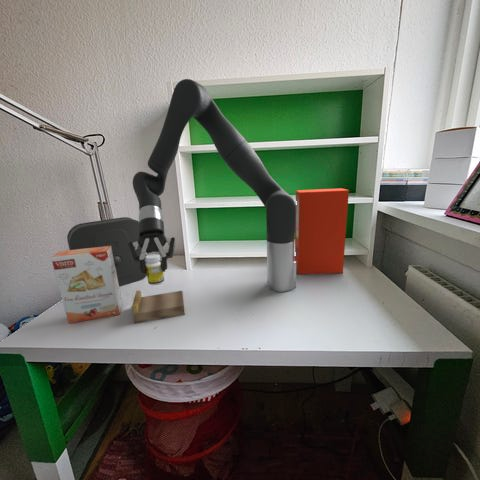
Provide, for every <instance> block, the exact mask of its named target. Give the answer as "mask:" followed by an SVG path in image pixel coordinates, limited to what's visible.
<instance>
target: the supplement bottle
mask: <svg viewBox="0 0 480 480" xmlns="http://www.w3.org/2000/svg"><path fill="white" fill-rule="evenodd" d="M145 258H146V264H145V266H146V272H147V276H146V278H147V283H148V285H150V286H158V285H161V284H163V283H164V282H165V275H164V274H165V272H163V271H162V260H161V255H160V253H149V255H147V256H146V257H145Z"/></svg>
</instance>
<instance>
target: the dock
mask: <svg viewBox="0 0 480 480" xmlns="http://www.w3.org/2000/svg"><path fill="white" fill-rule="evenodd" d="M183 294H184V293H183V290H177V291H171V292H166V293H159V294H154V295H146V296H142V293H141V290H136V292H135V295H134V297H133V300H132V304H131V310H132V317H133V321H134V324H139V323H146V322H152V321H157V320H163V319H168V318H172V317H179V316H183V315H185V314H186V313H185V304H184V303H185V301H184V295H183Z"/></svg>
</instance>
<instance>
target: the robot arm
mask: <svg viewBox="0 0 480 480" xmlns="http://www.w3.org/2000/svg"><path fill="white" fill-rule="evenodd" d="M192 118H193V119H194V120H195V121H196V122H198V123H199V124H200V126H202V127H201V128H203V129H204V130H205V132H207V134H208V135H209V137H210V139H211V141H212V143H213V144H214V146H215V149H216V150H217V152H218V154H219V156H220V158H221V159H222V160H223V161H224V162H225V164H226V165H227V166H228V167H229V168H230V170H231V171H232V172H233V173H234V174H235V175H236V177H238V178H239V179H240V180H241V181H242V182H244V183H245V184H246V185H247V186H248V187H249V188H250V189H251V190H252V191H253V192H254V193H255V194H256V196H257V197H258V198H259V200H260V201H261V203H262V205H264V208H265V209H266V210H265V213H266V215H265V217H266V218H265V219H266V221H265V222H266V232H265V233H266V269H267V270H266V272H267V273H266V275H267V277H266V279H267V282H266V283H267V288H268V289H269V290H270V291H274V292H278V293H284V292H285V293H286V292H289V291H291V290H293V289H294V288H297V271H296V262H295V224H296V200H295V199H294V198H293V197H292V195H290V194H289V193H288V192H287V191H285V189H283V187H281V186H280V185H279V184H278V183H277V182H276V181H275V179H273V177H272V176H271V175H270V174H269V172H268V170H267V168H266V167H265V165H264V163H263V162H262V160H261V158H260V157H259V156H258V154H257V153H256V151H255V150H254V148H253V147H252V146H251V145H250V144H249V142H248V141H247V140H246V138H245V137H244V136H243V135H242V134H241V133H240V131H238V130H237V128H236V127H235V126H234V125H233V124H232V123H231V122H230V121H229V120H228V119H227V118H226V117H225V115H224V114H223V113H222V112H221V110H220V109H219V107H218V105H217V103H215V101H214V99H213V98H212V96H211V94H210V92H208V90H207V89H206V88H205V87H204V85H202V84H200V83H199V82H197V81H195V80H194V79H193V80H192V79H190V78H185V79H181V80H180V81H178V82H177V83H176V85H175V87H174V89H173V91H172V95H171V98H170V102H169V107H168V109H167V112H166V116H165V119H164V122H163V125H162V128H161V131H160V133H159V134H160V135H159V136H158V139H157V140H156V143H155V145H154V147H153V150H152V152H151V154H150V156H149V159H148V161H147V166H148V168H149V169H150V170H151V171H153V172H154V173H155V174H157V175H153V174H152V173H148V172H146V171H138V172H136V173H135V174H134V175H133V178H132V188H133V191H134V194H135V196H136V199H137V201H138V211H139V212H138V221H139V239H138V241H137V242H134V243H132V242H129V243H128V245H129V248H130V251H131V254H132V256H133V259H134V261H135V262H140V270H141V272H142V273H143V274H146V266H145V264H146V262H145V261H146V258H145V257H146V256H147V255H148V254H149V255H150V254H152V253H158V254H159V255H160V260H161V261H162V271H163V273H165V272H166V270H168V259H172V258H173V257H174V251H175V246H176V238H175V237H174V236H172V237H171V238H168V237H166V235H165V234H166V233H165V225H164V223H165V220H164V215H163V210H162V200H161V197H160V196H161V195H163V193H164V191H165V188H166V181H167V178H168V173H169V170H170V168H171V166H172V164H174V161H175V158H176V156H177V154H178V151H179V146H180V141H181V138H182V134H183V132H184V130H185V128H186V126H187V125H188V123H189V122H190V121H191V119H192ZM166 244H167V245H168V246H169V247H168V251H167V252H166V251H165V250H164V246H165V245H166ZM138 245H139V246H140V247H141V248H142V251H141V255H140V256H137V253H136V251H135V250H136V249H137V246H138Z"/></svg>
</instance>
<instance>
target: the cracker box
mask: <svg viewBox="0 0 480 480" xmlns="http://www.w3.org/2000/svg"><path fill="white" fill-rule="evenodd" d="M50 259H51V262H52V266H53V270H54V274H55V278H56V281H57V285H58V288H59V289H58V290H59V292H60V296H61V300H62V304H63V308H64V312H65V315H66V319H67V323H68V324H72V323H78V322H79V323H80V322H84V321H90V320H96V319H102V318H109V317H113V316H119V315H120V314H121V312H122V308H123V300H122V295H121V290H120V287H119V284H118V278H117V273H116V268H115V263H114V258H113V253H112V248H111V246H104V247H94V248H85V249H75V250H70V249H68V250H67V249H66V250H60V251H58V252H56V253H55V254H54V255H52V256H51V258H50Z"/></svg>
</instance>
